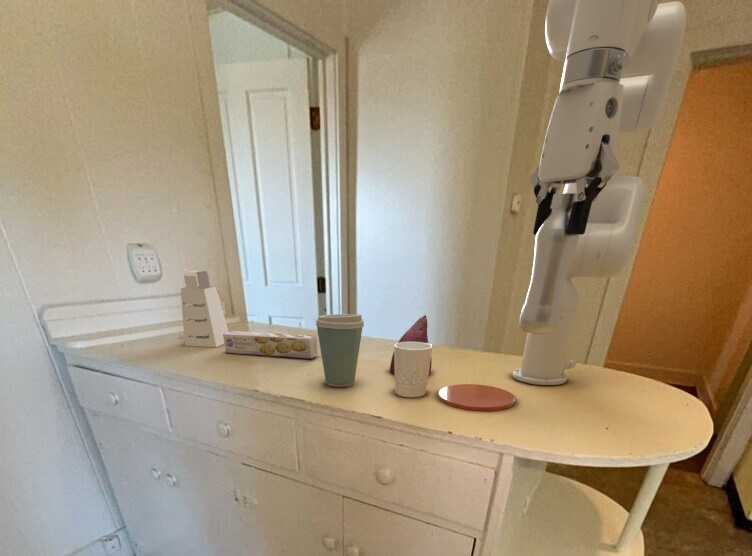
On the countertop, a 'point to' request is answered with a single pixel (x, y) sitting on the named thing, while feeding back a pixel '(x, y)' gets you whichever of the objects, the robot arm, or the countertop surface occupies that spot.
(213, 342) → the grater
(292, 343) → the box
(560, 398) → the countertop surface
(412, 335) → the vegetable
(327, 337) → the disposable coffee cup
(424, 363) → the white cup
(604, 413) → the countertop surface
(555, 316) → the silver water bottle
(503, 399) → the plate
